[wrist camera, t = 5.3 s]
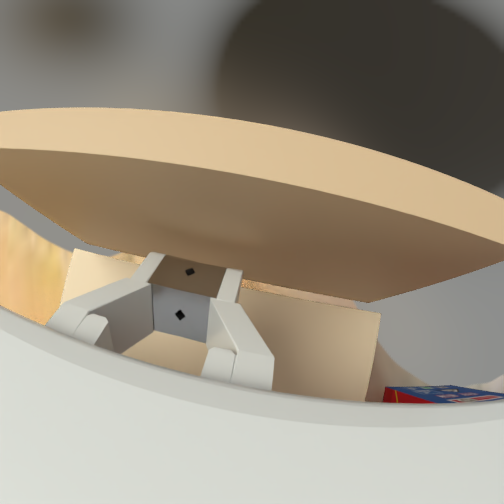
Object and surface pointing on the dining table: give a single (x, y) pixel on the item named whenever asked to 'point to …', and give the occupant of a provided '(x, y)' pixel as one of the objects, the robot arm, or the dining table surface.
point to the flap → (249, 199)
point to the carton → (271, 331)
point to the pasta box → (438, 395)
